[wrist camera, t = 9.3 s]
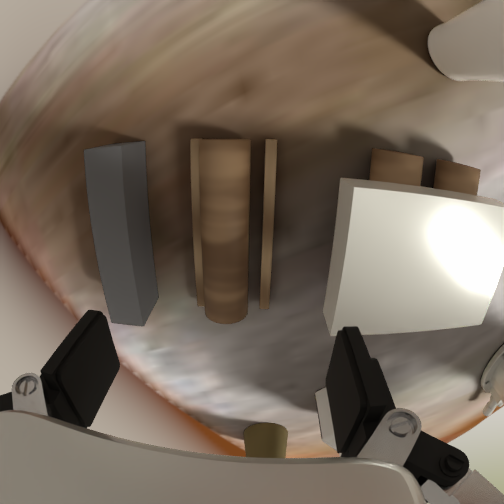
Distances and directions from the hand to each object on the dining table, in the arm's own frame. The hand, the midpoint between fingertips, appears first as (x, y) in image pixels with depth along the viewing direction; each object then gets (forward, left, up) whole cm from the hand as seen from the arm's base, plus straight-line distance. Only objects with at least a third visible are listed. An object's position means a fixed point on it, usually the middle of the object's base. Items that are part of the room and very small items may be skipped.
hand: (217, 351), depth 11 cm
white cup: (+17, -18, -14) cm, 28 cm away
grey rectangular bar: (0, +9, -14) cm, 17 cm away
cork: (-29, -4, -14) cm, 32 cm away
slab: (0, -14, -10) cm, 17 cm away
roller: (0, 0, -14) cm, 14 cm away
